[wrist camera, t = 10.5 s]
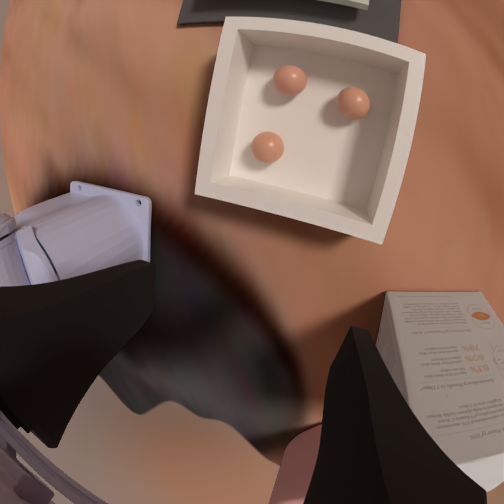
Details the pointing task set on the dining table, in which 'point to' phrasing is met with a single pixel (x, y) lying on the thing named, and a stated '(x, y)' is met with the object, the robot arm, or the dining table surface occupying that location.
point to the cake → (297, 468)
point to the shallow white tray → (310, 123)
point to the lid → (351, 3)
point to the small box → (450, 373)
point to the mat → (301, 14)
